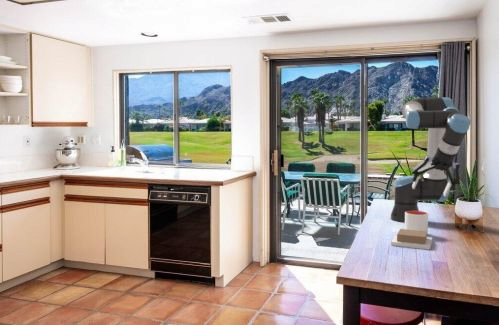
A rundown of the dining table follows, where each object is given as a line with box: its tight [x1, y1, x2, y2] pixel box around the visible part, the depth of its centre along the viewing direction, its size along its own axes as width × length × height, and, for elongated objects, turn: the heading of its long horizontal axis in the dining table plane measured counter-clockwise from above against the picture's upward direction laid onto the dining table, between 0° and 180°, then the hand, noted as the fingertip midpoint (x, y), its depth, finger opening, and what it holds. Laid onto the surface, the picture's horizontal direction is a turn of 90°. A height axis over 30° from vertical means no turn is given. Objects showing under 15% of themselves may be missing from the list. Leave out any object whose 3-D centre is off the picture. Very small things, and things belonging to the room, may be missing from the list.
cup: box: [404, 210, 429, 234], centre depth 204 cm, size 10×10×10 cm
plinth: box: [390, 228, 433, 251], centre depth 188 cm, size 15×15×4 cm
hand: (428, 191), depth 194 cm, fingers open, 13 cm apart
